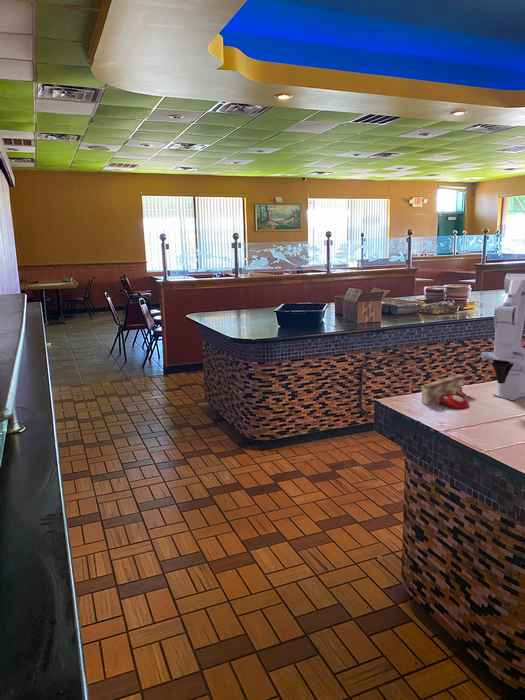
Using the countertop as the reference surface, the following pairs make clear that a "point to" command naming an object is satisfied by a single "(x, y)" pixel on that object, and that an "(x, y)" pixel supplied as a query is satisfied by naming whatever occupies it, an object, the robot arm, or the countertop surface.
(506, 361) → the robot arm
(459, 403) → the tracker holder
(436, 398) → the wall board
